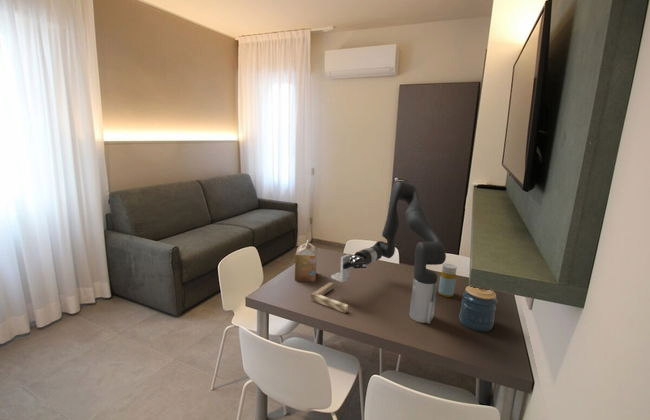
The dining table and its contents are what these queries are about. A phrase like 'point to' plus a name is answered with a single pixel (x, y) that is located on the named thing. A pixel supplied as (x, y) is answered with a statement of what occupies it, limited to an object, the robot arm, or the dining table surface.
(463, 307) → the canister
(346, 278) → the bracket
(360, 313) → the dining table surface
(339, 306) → the wooden l-shaped corner
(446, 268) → the bottle
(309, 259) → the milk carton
